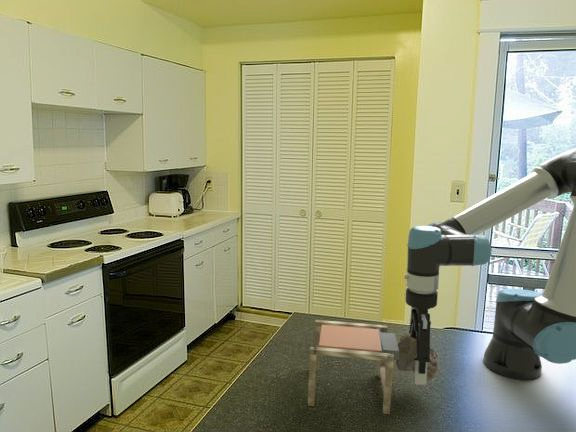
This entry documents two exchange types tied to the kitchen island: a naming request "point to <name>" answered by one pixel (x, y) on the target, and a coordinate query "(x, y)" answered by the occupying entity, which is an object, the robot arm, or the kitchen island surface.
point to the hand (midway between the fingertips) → (417, 373)
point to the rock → (408, 354)
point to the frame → (382, 357)
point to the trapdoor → (358, 339)
